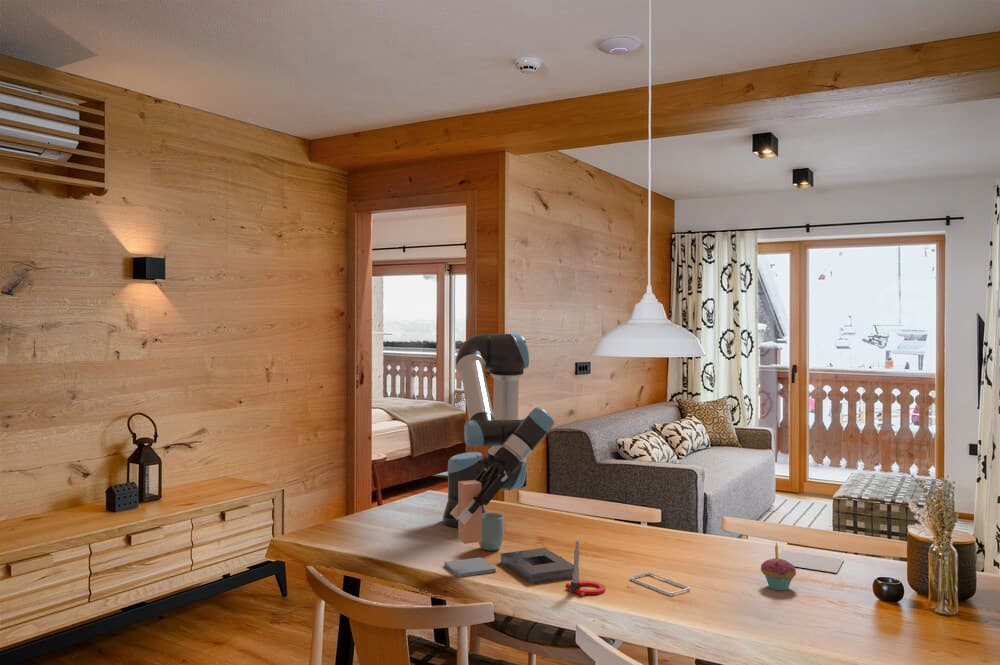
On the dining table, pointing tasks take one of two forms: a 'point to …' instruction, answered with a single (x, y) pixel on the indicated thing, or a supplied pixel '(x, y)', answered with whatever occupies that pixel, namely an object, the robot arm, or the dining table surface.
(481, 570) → the pad
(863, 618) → the dining table surface
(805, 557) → the paper stack
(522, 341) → the robot arm
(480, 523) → the peg
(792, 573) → the cupcake
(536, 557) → the socket block
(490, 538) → the cup
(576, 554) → the tow hook
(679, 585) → the phone case
